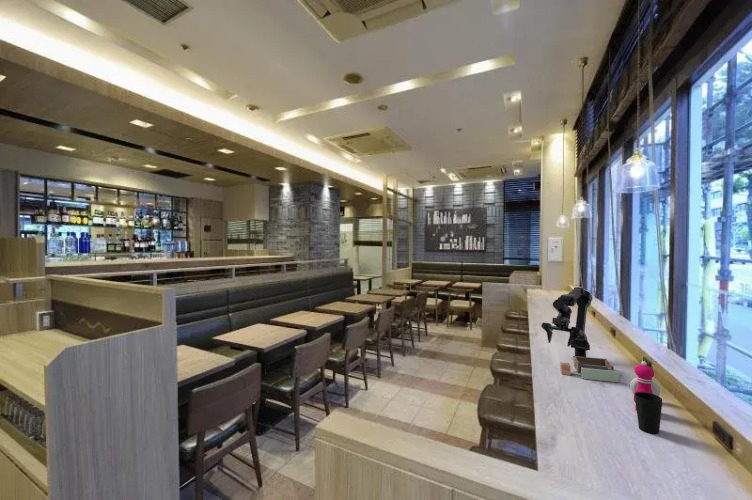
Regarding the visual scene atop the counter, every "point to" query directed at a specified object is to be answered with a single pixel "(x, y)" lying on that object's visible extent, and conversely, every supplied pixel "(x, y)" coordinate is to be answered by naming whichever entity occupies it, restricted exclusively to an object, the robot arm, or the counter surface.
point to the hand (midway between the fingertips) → (558, 344)
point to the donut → (654, 387)
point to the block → (565, 368)
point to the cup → (648, 412)
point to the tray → (598, 373)
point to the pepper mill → (644, 378)
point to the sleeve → (591, 362)
